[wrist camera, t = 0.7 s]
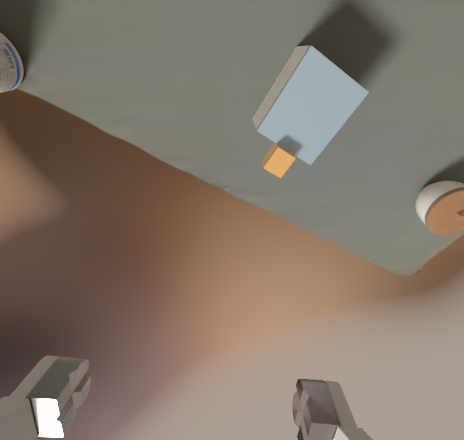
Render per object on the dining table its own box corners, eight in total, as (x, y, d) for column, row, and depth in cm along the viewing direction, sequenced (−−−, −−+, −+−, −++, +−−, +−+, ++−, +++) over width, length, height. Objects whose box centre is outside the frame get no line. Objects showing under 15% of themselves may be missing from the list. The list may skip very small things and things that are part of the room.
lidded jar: (399, 216, 60) (425, 241, 53) (415, 174, 55) (446, 194, 47) (445, 214, 60) (478, 238, 52) (466, 171, 54) (506, 191, 47)
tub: (296, 46, 42) (309, 45, 35) (345, 85, 45) (365, 91, 38) (252, 118, 48) (256, 129, 41) (298, 148, 51) (308, 162, 44)
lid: (307, 45, 36) (315, 45, 33) (363, 90, 39) (375, 94, 36) (242, 148, 44) (243, 156, 40) (293, 179, 47) (298, 188, 44)
